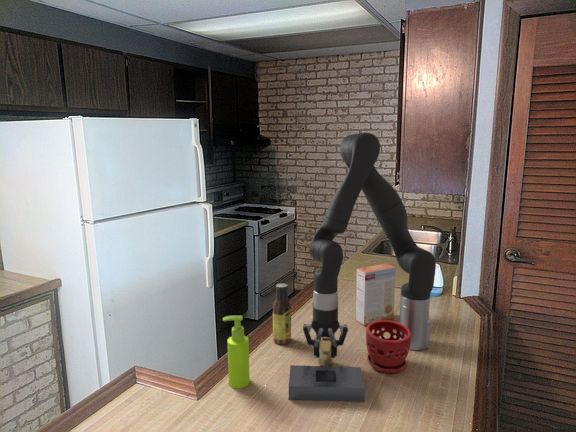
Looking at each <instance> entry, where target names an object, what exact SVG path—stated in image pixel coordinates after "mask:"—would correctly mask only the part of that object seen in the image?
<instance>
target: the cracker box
mask: <svg viewBox="0 0 576 432" xmlns="http://www.w3.org/2000/svg"><path fill="white" fill-rule="evenodd" d="M396 269H397V268H396V266H393V265H391V264H388V263H380V264H377V265H370V266H364V267H359V268H356V295H355V296H356V297H355V301H356V303H355V322H356V321H357V322H358V323H359V324H360V325H362V326H364V327H366V326H368V325H369V324H370V323H372V322H375V321H380V320H389V321H392V320H393V319H394V318H395V297H396V296H395V293H396V292H395V291H396Z"/></svg>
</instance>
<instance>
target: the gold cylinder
mask: <svg viewBox="0 0 576 432" xmlns="http://www.w3.org/2000/svg"><path fill="white" fill-rule="evenodd" d="M332 346H333V344H332V341H331V338H330V337H321V338H320V341H319V343H318V358H317V363H318V364H319V366H331V365H332V364H333V358H332Z"/></svg>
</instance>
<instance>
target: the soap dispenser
mask: <svg viewBox="0 0 576 432" xmlns="http://www.w3.org/2000/svg"><path fill="white" fill-rule="evenodd" d="M222 321H223V322H228V321H229V322H231V321H234V326H232V327H231V336H229V337H228V338H227V363H228V364H227V367H228V370H227V371H228V384H229V386H230V387H231V388H233V389H243V388H245V387H247V386H249V385H250V381H251V380H250V345H249V344H250V343H249V342H250V339H249V338H248V336H246V335H245V327H244V326H243V325H242V324H241V322H242V321H243V315H235V314H234V315H226V316H224V317H222Z"/></svg>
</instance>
